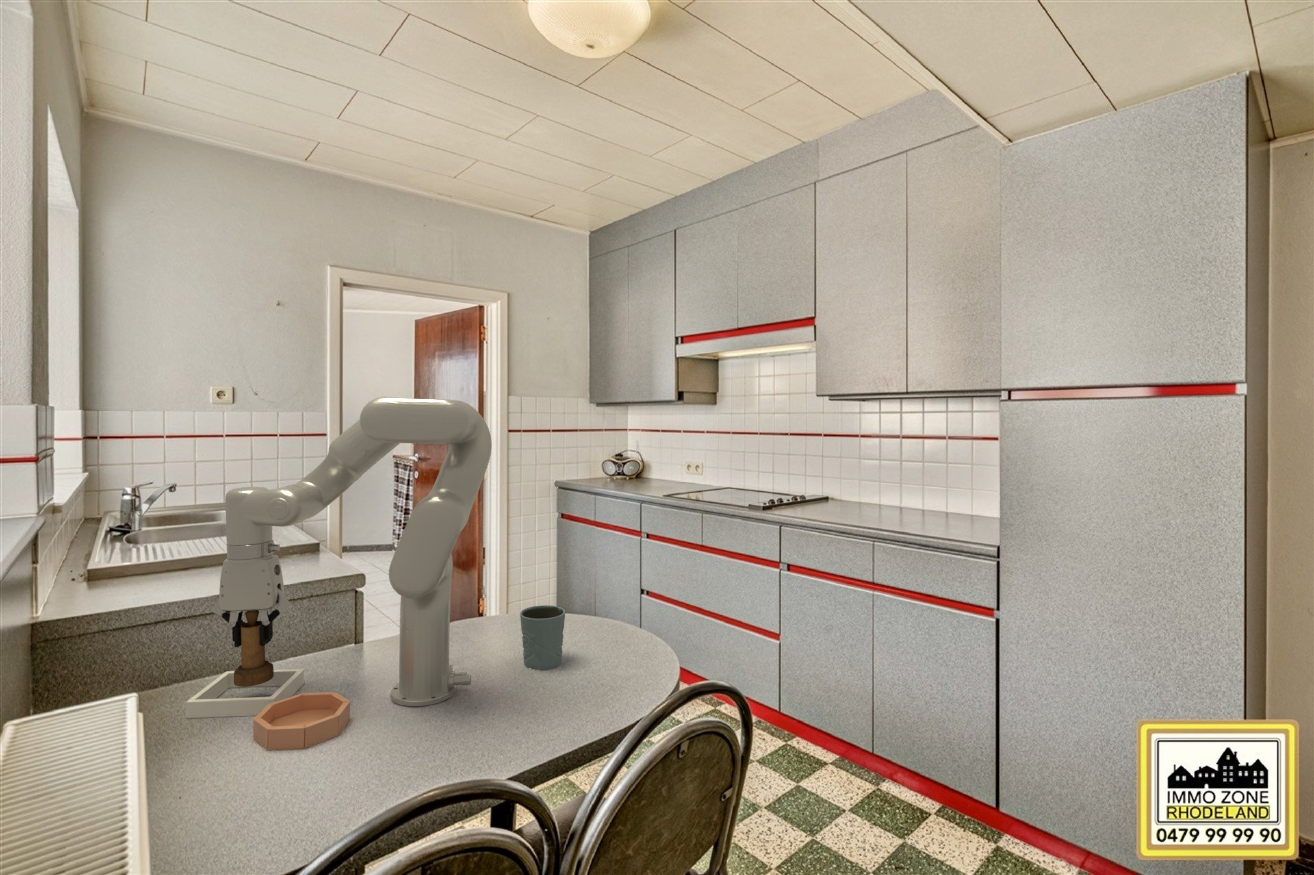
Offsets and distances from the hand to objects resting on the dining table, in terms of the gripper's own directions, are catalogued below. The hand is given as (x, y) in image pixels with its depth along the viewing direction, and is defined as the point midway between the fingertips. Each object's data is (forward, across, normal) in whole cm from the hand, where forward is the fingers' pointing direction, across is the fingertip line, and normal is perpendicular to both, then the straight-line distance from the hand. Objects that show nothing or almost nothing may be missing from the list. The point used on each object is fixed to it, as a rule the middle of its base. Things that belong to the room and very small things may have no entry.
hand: (253, 643), depth 124 cm
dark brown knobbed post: (+7, 0, 0) cm, 7 cm away
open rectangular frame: (+11, +1, 0) cm, 11 cm away
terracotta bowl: (+12, -14, +13) cm, 22 cm away
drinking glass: (+13, -55, -14) cm, 58 cm away
